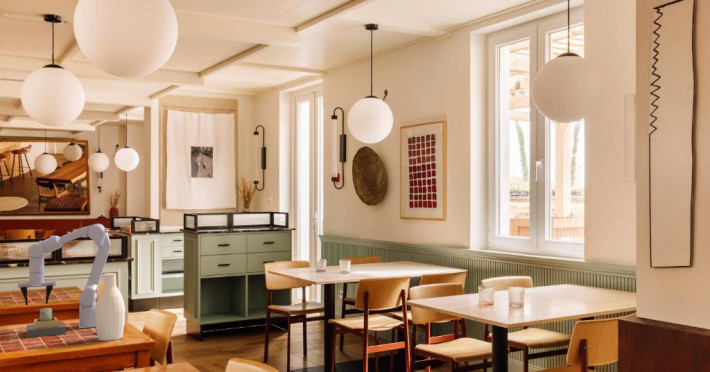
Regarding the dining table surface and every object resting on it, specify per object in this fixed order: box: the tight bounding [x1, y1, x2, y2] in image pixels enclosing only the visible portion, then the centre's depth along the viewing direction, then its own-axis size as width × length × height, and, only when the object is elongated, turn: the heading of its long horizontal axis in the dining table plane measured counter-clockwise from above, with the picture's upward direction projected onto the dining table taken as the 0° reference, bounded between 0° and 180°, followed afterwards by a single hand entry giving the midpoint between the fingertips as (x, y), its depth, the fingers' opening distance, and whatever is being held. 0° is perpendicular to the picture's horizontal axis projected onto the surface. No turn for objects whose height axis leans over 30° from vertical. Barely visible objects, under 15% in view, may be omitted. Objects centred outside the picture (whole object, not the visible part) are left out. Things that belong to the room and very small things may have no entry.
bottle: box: [95, 272, 126, 342], centre depth 267 cm, size 11×11×25 cm
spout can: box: [39, 307, 53, 322], centre depth 278 cm, size 4×6×7 cm
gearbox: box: [26, 316, 67, 338], centre depth 278 cm, size 14×12×6 cm
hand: (36, 304), depth 288 cm, fingers open, 7 cm apart
